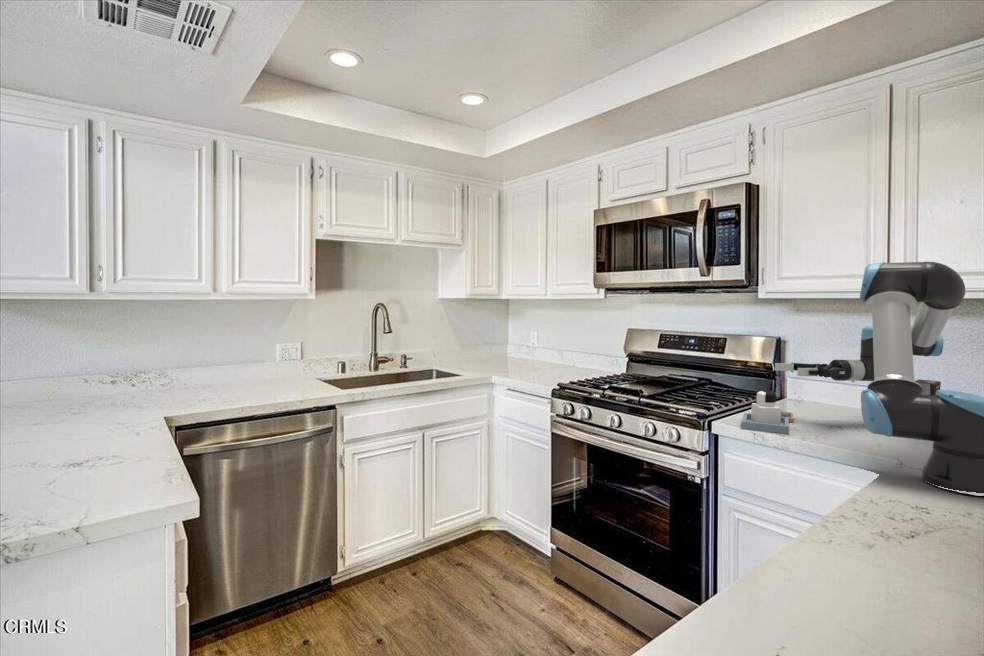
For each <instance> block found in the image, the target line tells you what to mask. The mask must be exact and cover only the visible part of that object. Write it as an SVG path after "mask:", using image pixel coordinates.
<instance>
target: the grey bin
mask: <svg viewBox="0 0 984 656" xmlns="http://www.w3.org/2000/svg"><path fill="white" fill-rule="evenodd" d="M741 429H742V430H750V431H751V430H752V431H758V432H765V431H766V433H773V432H777V433H776V434H782V433H785V434H784V435H789V434H790V423H789V420H788V417H781V420H780V425H776V424H767V423H758V422H751V412H750V413H748V412H743V415H742V420H741Z"/></svg>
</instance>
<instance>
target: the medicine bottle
mask: <svg viewBox="0 0 984 656" xmlns="http://www.w3.org/2000/svg"><path fill="white" fill-rule="evenodd" d="M776 404H777V394H776V393H775V392H773V391H768V390H762V391H761V390H760V391H758V392H756V402H752V403H751V412H750V413H751V422H758V423H767V424H776V425H780V420H781V410H782V407H779V406H778V405H776Z"/></svg>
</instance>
